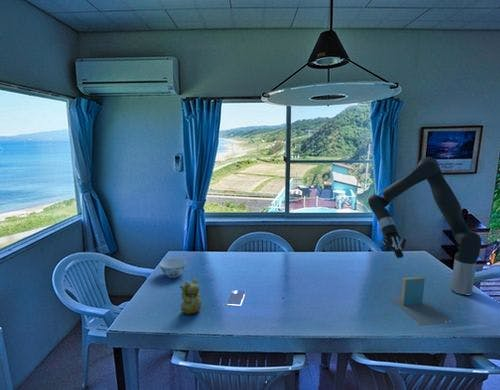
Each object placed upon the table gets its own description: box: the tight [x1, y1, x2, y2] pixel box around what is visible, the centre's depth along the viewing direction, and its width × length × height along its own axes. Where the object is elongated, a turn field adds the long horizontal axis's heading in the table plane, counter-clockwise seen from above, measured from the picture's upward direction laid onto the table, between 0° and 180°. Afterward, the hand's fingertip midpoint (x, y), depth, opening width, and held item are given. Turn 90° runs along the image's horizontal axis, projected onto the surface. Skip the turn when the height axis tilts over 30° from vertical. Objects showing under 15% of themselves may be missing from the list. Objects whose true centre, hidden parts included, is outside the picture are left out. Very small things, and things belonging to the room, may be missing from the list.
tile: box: [400, 276, 426, 305], centre depth 147 cm, size 2×10×13 cm, turn 100°
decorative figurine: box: [179, 277, 202, 316], centre depth 140 cm, size 10×8×15 cm
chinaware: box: [159, 257, 187, 279], centre depth 179 cm, size 15×15×8 cm
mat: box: [390, 298, 454, 326], centre depth 142 cm, size 22×16×1 cm
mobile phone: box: [225, 289, 247, 307], centre depth 154 cm, size 8×1×15 cm
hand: (400, 257), depth 156 cm, fingers closed
